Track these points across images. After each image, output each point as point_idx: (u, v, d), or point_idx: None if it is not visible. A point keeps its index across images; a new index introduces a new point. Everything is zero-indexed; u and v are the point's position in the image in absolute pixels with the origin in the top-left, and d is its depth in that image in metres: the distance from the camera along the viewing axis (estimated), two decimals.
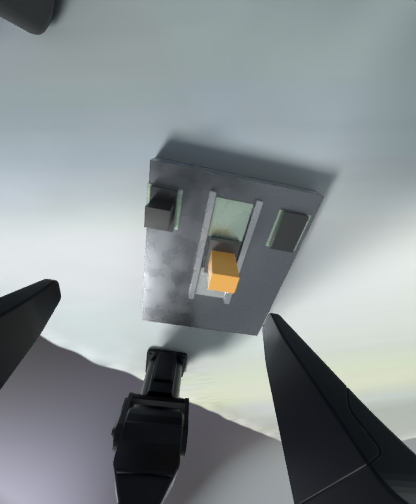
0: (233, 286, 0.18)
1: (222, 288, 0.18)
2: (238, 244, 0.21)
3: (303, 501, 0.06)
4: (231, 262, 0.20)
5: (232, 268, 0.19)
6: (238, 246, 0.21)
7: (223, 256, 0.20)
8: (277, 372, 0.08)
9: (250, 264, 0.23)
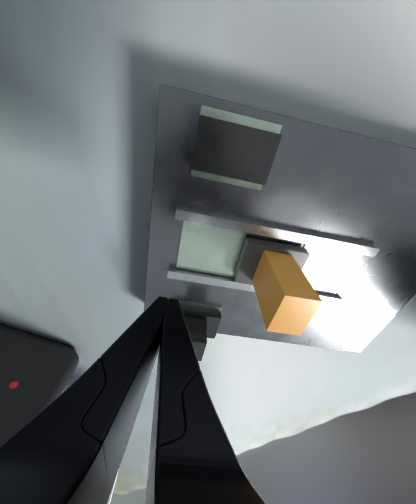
0: (304, 303, 0.09)
1: (304, 318, 0.10)
2: (247, 244, 0.12)
3: (147, 491, 0.05)
4: (268, 273, 0.11)
5: (273, 285, 0.10)
6: (250, 245, 0.12)
7: (260, 274, 0.12)
8: (158, 357, 0.07)
9: (297, 213, 0.12)
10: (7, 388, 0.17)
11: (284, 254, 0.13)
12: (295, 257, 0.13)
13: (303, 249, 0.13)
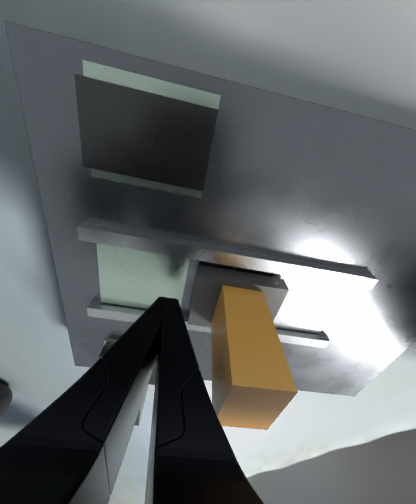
0: (266, 394, 0.06)
1: (269, 411, 0.06)
2: (198, 276, 0.09)
3: (146, 491, 0.05)
4: (222, 326, 0.08)
5: (224, 351, 0.07)
6: (202, 278, 0.09)
7: (217, 321, 0.09)
8: (158, 357, 0.07)
9: (259, 230, 0.09)
10: None
11: (252, 291, 0.09)
12: (268, 294, 0.09)
13: (280, 282, 0.09)
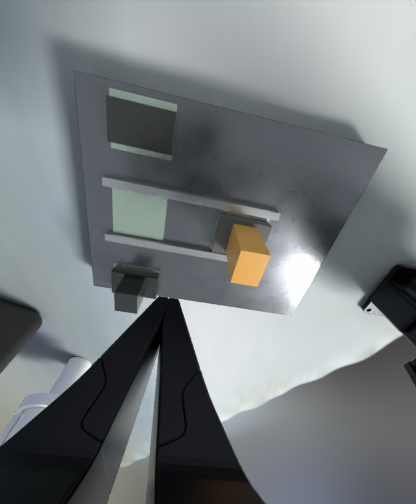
0: (256, 257, 0.12)
1: (258, 270, 0.13)
2: (220, 218, 0.15)
3: (147, 491, 0.05)
4: (234, 240, 0.14)
5: (236, 247, 0.13)
6: (222, 219, 0.15)
7: (230, 243, 0.15)
8: None
9: (207, 181, 0.15)
10: None
11: (250, 227, 0.16)
12: (260, 229, 0.16)
13: (267, 223, 0.16)
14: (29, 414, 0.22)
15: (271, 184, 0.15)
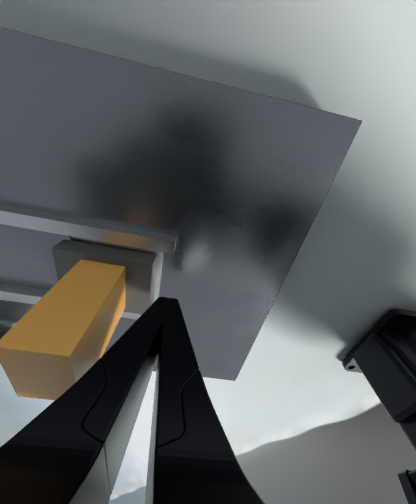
0: (39, 358, 0.05)
1: (60, 380, 0.06)
2: (55, 250, 0.08)
3: (146, 490, 0.05)
4: None
5: None
6: (56, 251, 0.08)
7: None
8: (158, 357, 0.07)
9: (29, 185, 0.08)
10: None
11: (114, 266, 0.09)
12: (132, 269, 0.09)
13: (148, 257, 0.09)
14: None
15: (150, 190, 0.08)
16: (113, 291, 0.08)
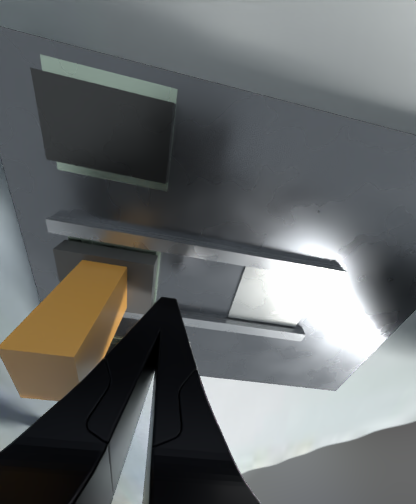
0: (43, 359, 0.05)
1: (64, 381, 0.06)
2: None
3: (144, 491, 0.05)
4: None
5: None
6: (58, 252, 0.08)
7: None
8: (156, 357, 0.07)
9: (227, 223, 0.09)
10: None
11: (116, 266, 0.09)
12: (133, 269, 0.09)
13: (150, 258, 0.09)
14: None
15: (335, 227, 0.09)
16: (115, 291, 0.08)
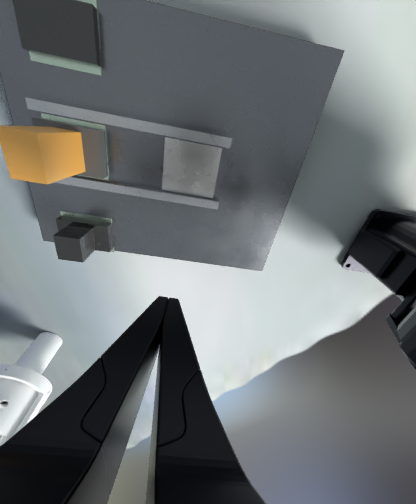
0: (20, 136, 0.10)
1: (34, 158, 0.10)
2: (33, 120, 0.13)
3: (147, 491, 0.05)
4: None
5: None
6: (35, 120, 0.13)
7: None
8: (158, 357, 0.07)
9: (145, 102, 0.13)
10: None
11: (73, 131, 0.13)
12: (85, 134, 0.13)
13: (97, 129, 0.14)
14: None
15: (218, 103, 0.13)
16: (70, 137, 0.12)
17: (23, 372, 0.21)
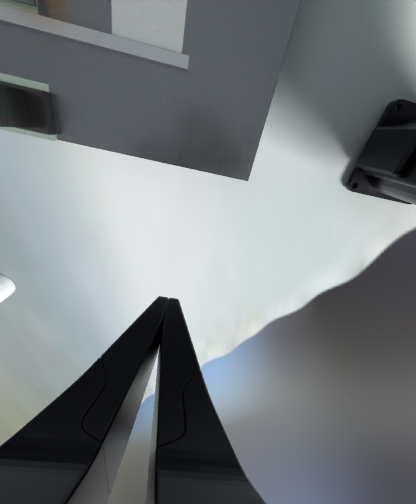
0: None
1: None
2: None
3: (147, 491, 0.05)
4: None
5: None
6: None
7: None
8: (158, 357, 0.07)
9: None
10: None
11: None
12: None
13: None
14: None
15: None
16: None
17: None
